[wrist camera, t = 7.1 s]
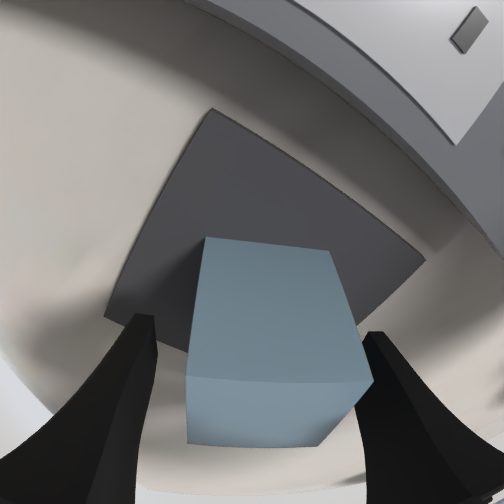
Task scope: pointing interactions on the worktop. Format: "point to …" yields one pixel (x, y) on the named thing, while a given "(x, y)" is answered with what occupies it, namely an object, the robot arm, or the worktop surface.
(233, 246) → the block
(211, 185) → the mat
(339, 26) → the power strip
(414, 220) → the worktop surface
